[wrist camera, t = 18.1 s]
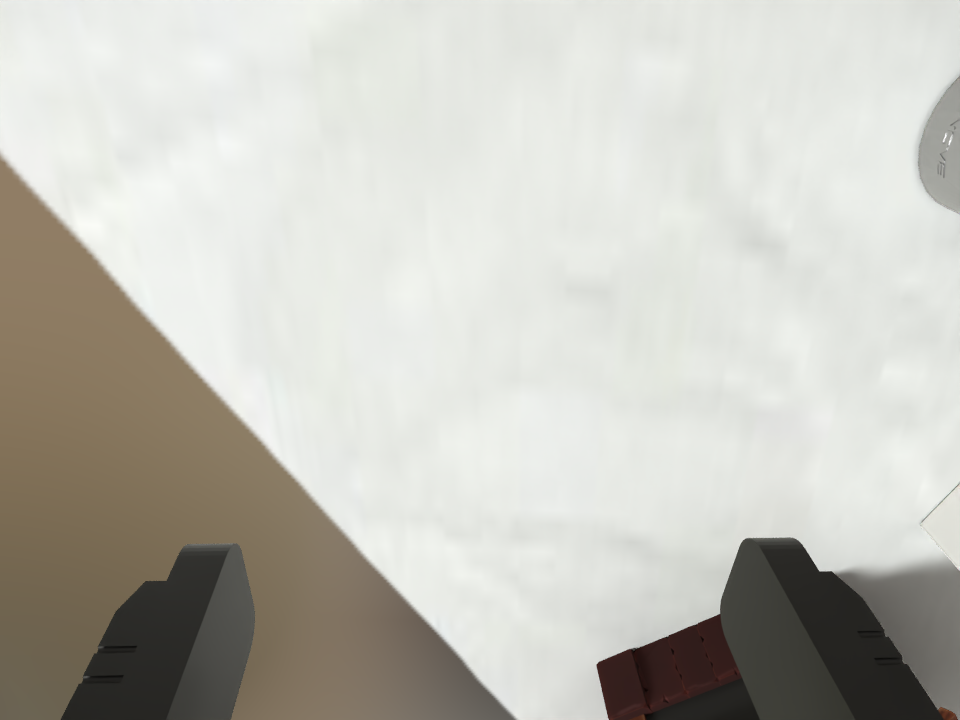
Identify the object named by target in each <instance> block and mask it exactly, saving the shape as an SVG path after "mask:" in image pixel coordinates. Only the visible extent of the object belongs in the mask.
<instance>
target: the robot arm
mask: <svg viewBox="0 0 960 720" xmlns="http://www.w3.org/2000/svg"><path fill="white" fill-rule="evenodd" d="M918 167H919V173H920V179H921V181H922V183H923V185H924V187H925V190H926V192H927V193H928V194H929V195H930V196H931V197H932V198H933V199H934V200H935V202H937V203H939V204H941V205H942V206H944V207H946V208H948V209H950V210H952V211H954V212H956V213H958V214H960V77H959V78H958V79H957V80H956V81H955V82H954V83H953V84H952V85H951V87H950V88H949V89H948V90H947V91H946V92H945V94H944V95H943V97H942V98H941V99H940V101H939V102H938V104H937V105H936V107H935V108H934V110H933V112H932V114H931V116H930V118H929V120H928V122H927V124H926V126H925V129H924V132H923V136H922V139H921V143H920V146H919V158H918ZM720 615H721V623H722V628H723V632H724V636H725V638H726V641H727V643H728V646H729V648H730V650H731V653H732V655H733V657H734V660H735V662H736V664H737V667H738V669H739V672H740V674H741V676H742V679H743V681H744V683H745V686H746V688H747V690H748V693H749V695H750V697H751V700H752V702H753V704H754V707H755V709H756V711H757V714H758V716H759V719H760V720H944V719H943V717H942V716H941V714H940V713H939V711H938V710H937V708H936V707H935V705H934V704H933V702H932V701H931V699H930V698H929V696H928V695H927V693H926V692H925V690H924V689H923V687H922V686H921V684H920V683H919V681H918V680H917V678H916V677H915V675H914V674H913V673H912V671H911V670H910V668H909V667H908V665H907V664H904V663H903V662H902V656H901V655H900V653H899V652H898V650H897V649H896V647H895V646H894V644H893V643H892V641H891V640H890V638H889V637H885V635H884V629H883V628H882V626H881V625H880V623H879V622H878V620H877V619H876V617H875V616H874V615H873V613H872V612H871V610H870V609H869V607H868V606H867V604H866V603H865V601H864V600H863V598H862V597H860V596H859V595H858V594H857V593H856V592H855V591H854V590H852V589H851V588H850V587H849V586H848V585H847V584H846V583H844V582H843V581H842V580H841V579H840V578H839V577H838V576H836V575H835V574H834V573H833V572H832V571H828V572H819V570H818V569H817V567H816V565H815V564H814V562H813V561H812V559H811V557H810V556H809V554H808V553H807V551H806V549H805V548H804V547H803V545H802V544H801V543H800V542H799V541H798V540H796V539H794V538H747V539H745V540H743V542H742V543H741V545H740V547H739V550H738V553H737V556H736V559H735V561H734V564H733V567H732V570H731V573H730V576H729V578H728V581H727V584H726V587H725V590H724V593H723V596H722V599H721V606H720ZM254 623H255V611H254V604H253V599H252V595H251V591H250V586H249V582H248V577H247V573H246V569H245V564H244V560H243V556H242V552H241V548H240V546H239V545H238V544H187V545H186V546H184V547H183V548H182V550H181V552H180V553H179V555H178V557H177V559H176V562H175V564H174V566H173V568H172V570H171V572H170V575H169V577H168V579H167V581H146V582H145V583H143V585H142V586H140V588H139V589H138V590H137V591H136V592H135V593H134V594H133V595H132V596H131V597H130V598H129V599H128V600H127V601H126V602H125V603H124V604H123V605H122V606H121V607H120V608H119V609H118V610H117V611H116V613H115V614H114V616H113V618H112V620H111V622H110V624H109V626H108V628H107V630H106V632H105V634H104V636H103V638H102V640H101V642H100V644H99V646H98V652H97V654H94V655H93V657H92V660H91V662H90V663H89V665H88V667H87V669H86V671H85V673H84V675H83V682H82V683H81V684H79V685H78V687H77V689H76V691H75V693H74V695H73V697H72V699H71V700H70V702H69V704H68V706H67V708H66V710H65V712H64V714H63V716H62V718H61V720H230V719H231V717H232V713H233V709H234V706H235V702H236V699H237V695H238V692H239V688H240V685H241V681H242V678H243V674H244V671H245V667H246V664H247V660H248V656H249V653H250V649H251V645H252V640H253V634H254Z"/></svg>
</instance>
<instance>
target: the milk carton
mask: <svg viewBox="0 0 960 720" xmlns="http://www.w3.org/2000/svg"><path fill="white" fill-rule="evenodd" d="M920 526H921V527H922V528H923V529H924V530H925V532H926V533H927V534H928V535H929V536H930V537H931V539H932V540H933V541H934V542H935V543H936V544H937V546H938V547H939V548H940V549H941V550H942V551H943V552H944V554H945V555H946V556H947V557H948V558H949V559H950V561H951V562H952V563H953V564H954V565H955V566H956V567H957V569H958V570H959V571H960V484H959V485H958V486H957V487H956V488H955V489H954V490H953V491H952V492H951V493H950V494H949V495H948V496H947V497H946V498H945V499H944V500H943V501H942V502H941V503H940V504H939V505H938V506H937V507H936V508H935V509H934V510H933V511H932V512H931V513H930V515H929V516H928V517H927V518H926V519H925V520H924V521H923V522H922V523H921V524H920Z"/></svg>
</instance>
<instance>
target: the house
mask: <svg viewBox="0 0 960 720" xmlns="http://www.w3.org/2000/svg"><path fill="white" fill-rule="evenodd" d="M597 670H598V674H599V679H600V683H601V688H602V692H603V697H604V701H605V706H606V710H607V715H608V718H609V720H760V719H759V716H758V714H757V711H756V709H755V707H754V704H753V702H752V700H751V697H750V695H749V693H748V690H747V688H746V686H745V683H744V681H743V679H742V676H741V674H740V672H739V669H738V667H737V664H736V662H735V660H734V657H733V655H732V653H731V650H730V648H729V646H728V643H727V641H726V638H725V636H724V632H723V628H722V623H721V615H720V614H719V615H717V616H714V617H712V618H709V619H707V620H705V621H702V622H700V623H698V625H697V626H696V625H694V626H690V627H688V628H686V629H683V630H681V631H678V632H676V633H674V634H671V635H669V637H668V638H667V637H666V638H662V639H659V640H657V641H655V642H652V643H650V644H647V645H645V646H643V647H640V648H638V649H636V650H635V652H633V651H632V650H631V649H629V650H626V651H624V652H622V653H619V654H617V655H614V656H612V657H610V658H607V659H605V660H603V661H600V662H599V663H598V664H597ZM938 711H939V713H940V714H941V716H942V717H943V719H944V720H958V719H957V717H956V714H955V713H953V712H951V711H949V710H947V709H944V708H942V707H940V708H939V710H938Z"/></svg>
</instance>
